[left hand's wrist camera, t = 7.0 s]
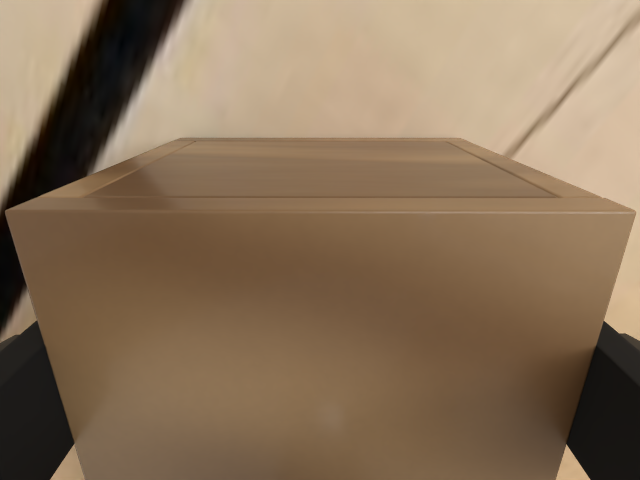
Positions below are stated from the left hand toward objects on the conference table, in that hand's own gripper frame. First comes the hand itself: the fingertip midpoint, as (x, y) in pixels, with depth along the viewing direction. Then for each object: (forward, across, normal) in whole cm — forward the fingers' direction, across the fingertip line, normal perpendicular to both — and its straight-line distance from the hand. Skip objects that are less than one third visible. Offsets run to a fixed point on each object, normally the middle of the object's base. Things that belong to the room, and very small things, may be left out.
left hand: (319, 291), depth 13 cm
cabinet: (+5, 0, -6) cm, 8 cm away
